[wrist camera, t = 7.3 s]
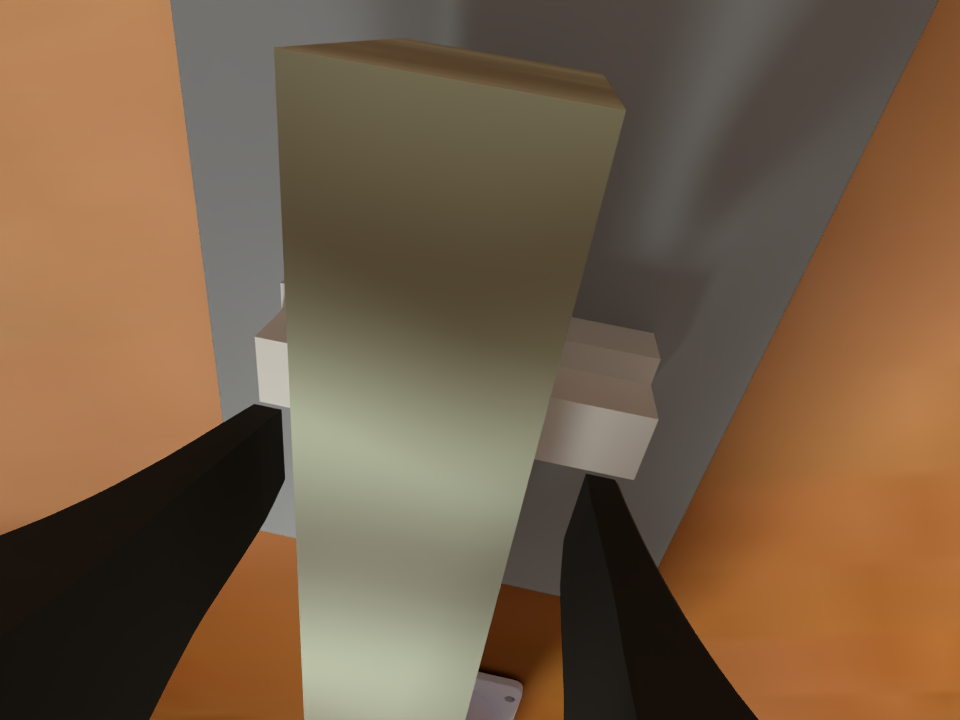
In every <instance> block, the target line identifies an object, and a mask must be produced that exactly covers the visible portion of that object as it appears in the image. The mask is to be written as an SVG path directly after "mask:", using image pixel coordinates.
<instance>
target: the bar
mask: <svg viewBox="0 0 960 720" xmlns="http://www.w3.org/2000/svg"><path fill="white" fill-rule="evenodd" d="M274 62H275V84H276V106H277V128H278V150H279V172H280V194H281V216H282V238H283V260H284V282H285V304H286V326H287V348H288V370H289V393H290V415H291V437H292V459H293V481H294V503H295V525H296V547H297V569H298V591H299V613H300V635H301V657H302V679H303V701H304V720H465V719H466V715H467V712H468V708H469V704H470V700H471V696H472V693H473V689H474V685H475V681H476V677H477V674H478V670H479V666H480V662H481V659H482V655H483V651H484V647H485V643H486V640H487V636H488V632H489V628H490V624H491V621H492V617H493V613H494V609H495V605H496V602H497V598H498V594H499V590H500V586H501V583H502V579H503V575H504V571H505V568H506V564H507V560H508V556H509V552H510V549H511V545H512V541H513V537H514V533H515V530H516V526H517V522H518V518H519V514H520V511H521V507H522V503H523V499H524V495H525V492H526V488H527V484H528V480H529V476H530V473H531V469H532V465H533V461H534V458H535V454H536V450H537V446H538V442H539V439H540V435H541V431H542V427H543V423H544V420H545V416H546V412H547V408H548V404H549V401H550V397H551V393H552V389H553V385H554V382H555V378H556V374H557V370H558V367H559V363H560V359H561V355H562V351H563V348H564V344H565V340H566V336H567V332H568V329H569V325H570V321H571V317H572V313H573V310H574V306H575V302H576V298H577V294H578V291H579V287H580V283H581V279H582V275H583V272H584V268H585V264H586V260H587V257H588V253H589V249H590V245H591V241H592V238H593V234H594V230H595V226H596V222H597V219H598V215H599V211H600V207H601V203H602V200H603V196H604V192H605V188H606V184H607V181H608V177H609V173H610V169H611V166H612V162H613V158H614V154H615V150H616V147H617V143H618V139H619V135H620V131H621V128H622V124H623V120H624V116H625V112H626V109H625V108H624V106H623V105H622V103H621V101H620V100H619V98H618V97H617V95H616V94H615V92H614V90H613V89H612V87H611V86H610V84H609V83H608V81H607V79H606V78H605V76H604V75H603V73H599V72H593V71H588V70H582V69H576V68H571V67H565V66H559V65H554V64H548V63H542V62H537V61H531V60H525V59H520V58H514V57H508V56H503V55H497V54H491V53H486V52H480V51H474V50H468V49H463V48H457V47H451V46H446V45H440V44H434V43H429V42H423V41H417V40H412V39H406V38H392V39H379V40H365V41H352V42H338V43H325V44H311V45H298V46H285V47H274Z"/></svg>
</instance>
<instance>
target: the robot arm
mask: <svg viewBox="0 0 960 720" xmlns="http://www.w3.org/2000/svg"><path fill="white" fill-rule="evenodd" d="M284 481H285V465H284V446H283V426H282V410H281V409H277V408H272V407H267V406H262V405H258V404H253V405H251V406H250V407H248V408H246V409H245V410H243V411H241V412H240V413H238V414H236V415H235V416H233V417H231V418H230V419H228V420H227V421H225V422H223V423H222V424H220V425H219V426H217V427H215V428H214V429H212V430H210V431H209V432H207V433H206V434H204V435H202V436H201V437H199V438H197V439H196V440H194V441H192V442H191V443H189V444H187V445H186V446H184V447H182V448H181V449H179V450H177V451H176V452H174V453H172V454H170V455H169V456H167V457H165V458H164V459H162V460H160V461H158V462H156V463H154V464H153V465H151V466H149V467H147V468H145V469H143V470H142V471H140V472H138V473H136V474H134V475H132V476H131V477H129V478H127V479H125V480H123V481H121V482H119V483H118V484H116V485H114V486H112V487H110V488H108V489H106V490H104V491H102V492H100V493H98V494H96V495H94V496H92V497H90V498H88V499H85V500H83V501H81V502H79V503H77V504H74V505H72V506H70V507H68V508H66V509H63V510H61V511H59V512H57V513H55V514H52V515H50V516H48V517H45V518H43V519H41V520H38V521H36V522H33V523H31V524H28V525H26V526H23V527H21V528H18V529H15V530H13V531H10V532H8V533H5V534H3V535H0V720H149V719H150V717H151V715H152V713H153V711H154V709H155V707H156V705H157V703H158V701H159V699H160V697H161V695H162V693H163V691H164V689H165V687H166V685H167V683H168V681H169V679H170V677H171V675H172V673H173V671H174V669H175V668H176V666H177V664H178V662H179V660H180V658H181V656H182V654H183V652H184V650H185V649H186V647H187V645H188V643H189V641H190V639H191V637H192V635H193V633H194V632H195V630H196V628H197V627H198V625H199V623H200V622H201V620H202V618H203V617H204V615H205V613H206V612H207V610H208V609H209V607H210V606H211V604H212V603H213V601H214V600H215V598H216V596H217V595H218V593H219V592H220V590H221V589H222V587H223V586H224V584H225V583H226V581H227V580H228V578H229V577H230V575H231V573H232V572H233V570H234V569H235V567H236V566H237V564H238V563H239V561H240V560H241V558H242V557H243V555H244V554H245V552H246V550H247V549H248V547H249V546H250V544H251V543H252V541H253V540H254V538H255V536H256V535H257V533H258V532H259V530H260V529H261V527H262V525H263V524H264V522H265V520H266V518H267V516H268V514H269V512H270V510H271V508H272V506H273V504H274V502H275V500H276V498H277V496H278V494H279V492H280V490H281V487H282V485H283V483H284ZM560 603H561V632H562V657H563V683H564V720H758V718H757V717H756V716H755V715H754V713H753V712H752V711H751V710H750V708H749V707H748V706H747V705H746V703H745V702H744V701H743V700H742V698H741V697H740V696H739V695H738V693H737V692H736V691H735V689H734V688H733V687H732V685H731V684H730V682H729V681H728V680H727V678H726V677H725V675H724V674H723V673H722V671H721V670H720V669H719V667H718V666H717V664H716V663H715V661H714V660H713V658H712V657H711V656H710V654H709V653H708V651H707V650H706V648H705V647H704V645H703V644H702V642H701V641H700V639H699V638H698V636H697V635H696V633H695V632H694V630H693V628H692V627H691V625H690V624H689V622H688V620H687V619H686V617H685V616H684V614H683V612H682V610H681V609H680V607H679V605H678V604H677V602H676V600H675V599H674V597H673V595H672V593H671V592H670V590H669V588H668V586H667V585H666V583H665V581H664V579H663V577H662V576H661V574H660V572H659V570H658V568H657V566H656V564H655V562H654V560H653V558H652V556H651V554H650V553H649V551H648V549H647V547H646V545H645V543H644V541H643V539H642V537H641V534H640V532H639V530H638V528H637V526H636V524H635V522H634V520H633V517H632V515H631V513H630V511H629V508H628V506H627V504H626V502H625V499H624V497H623V495H622V492H621V490H620V487H619V485H618V483H617V482H616V480H614V479H609V478H605V477H600V476H595V475H590V474H586V475H585V478H584V481H583V484H582V487H581V490H580V492H579V495H578V498H577V501H576V504H575V507H574V510H573V513H572V516H571V519H570V522H569V525H568V528H567V531H566V534H565V537H564V540H563V552H562V564H561V578H560ZM522 692H523V686H522V684H521V683H520V682H518V681H516V680H513V679H508V678H504V677H499V676H495V675H491V674H486V673H482V672H478V674H477V677H476V681H475V685H474V689H473V693H472V696H471V700H470V704H469V708H468V712H467V715H466V719H465V720H513V719H514V717H515V714H516V711H517V708H518V706H519V703H520V700H521V697H522Z"/></svg>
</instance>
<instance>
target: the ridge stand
mask: <svg viewBox="0 0 960 720" xmlns="http://www.w3.org/2000/svg"><path fill="white" fill-rule="evenodd" d="M170 1H171V9H172V17H173V25H174V33H175V41H176V49H177V57H178V65H179V73H180V82H181V90H182V98H183V106H184V114H185V122H186V130H187V138H188V146H189V154H190V162H191V170H192V178H193V186H194V194H195V202H196V210H197V218H198V226H199V234H200V242H201V250H202V258H203V266H204V274H205V282H206V290H207V298H208V306H209V314H210V322H211V330H212V338H213V346H214V354H215V362H216V370H217V378H218V386H219V394H220V402H221V410H222V418H223V422H225V421H227V420H228V419H230V418H231V417H233V416H235V415H236V414H238V413H240V412H241V411H243V410H245V409H246V408H248V407H250V406H251V405H253V404H258V405H262V406H267V407H272V408H277V409H281V410H282V426H283V446H284V465H285V481H284V483H283V485H282V487H281V490H280V492H279V494H278V496H277V498H276V500H275V502H274V504H273V506H272V508H271V510H270V512H269V514H268V516H267V518H266V520H265V522H264V524H263V525H262V527H261V529H260V530H261V531H265V532H270V533H274V534H279V535H283V536H288V537H293V538H296V525H295V503H294V481H293V459H292V437H291V415H290V393H289V370H288V348H287V326H286V304H285V282H284V260H283V238H282V216H281V194H280V172H279V150H278V128H277V106H276V84H275V62H274V47H285V46H298V45H311V44H325V43H338V42H352V41H365V40H379V39H392V38H406V39H412V40H417V41H423V42H429V43H434V44H440V45H446V46H451V47H457V48H463V49H468V50H474V51H480V52H486V53H491V54H497V55H503V56H508V57H514V58H520V59H525V60H531V61H537V62H542V63H548V64H554V65H559V66H565V67H571V68H576V69H582V70H588V71H593V72H599V73H603V75H604V76H605V78H606V79H607V81H608V83H609V84H610V86H611V87H612V89H613V90H614V92H615V94H616V95H617V97H618V98H619V100H620V101H621V103H622V105H623V106H624V108H625V109H626V112H625V116H624V120H623V124H622V128H621V131H620V135H619V139H618V143H617V147H616V150H615V154H614V158H613V162H612V166H611V169H610V173H609V177H608V181H607V184H606V188H605V192H604V196H603V200H602V203H601V207H600V211H599V215H598V219H597V222H596V226H595V230H594V234H593V238H592V241H591V245H590V249H589V253H588V257H587V260H586V264H585V268H584V272H583V275H582V279H581V283H580V287H579V291H578V294H577V298H576V302H575V306H574V310H573V313H572V317H571V321H570V325H569V329H568V332H567V336H566V340H565V344H564V348H563V351H562V355H561V359H560V363H559V367H558V370H557V374H556V378H555V382H554V385H553V389H552V393H551V397H550V401H549V404H548V408H547V412H546V416H545V420H544V423H543V427H542V431H541V435H540V439H539V442H538V446H537V450H536V454H535V458H534V461H533V465H532V469H531V473H530V476H529V480H528V484H527V488H526V492H525V495H524V499H523V503H522V507H521V511H520V514H519V518H518V522H517V526H516V530H515V533H514V537H513V541H512V545H511V549H510V552H509V556H508V560H507V564H506V568H505V571H504V575H503V579H502V583H501V584H506V585H511V586H515V587H520V588H524V589H529V590H533V591H538V592H542V593H547V594H551V595H556V596H560V578H561V564H562V552H563V540H564V537H565V534H566V531H567V528H568V525H569V522H570V519H571V516H572V513H573V510H574V507H575V504H576V501H577V498H578V495H579V492H580V490H581V487H582V484H583V481H584V478H585V475H586V474H590V475H595V476H600V477H605V478H609V479H614V480H616V482H617V483H618V485H619V487H620V490H621V492H622V495H623V497H624V499H625V502H626V504H627V506H628V508H629V511H630V513H631V515H632V517H633V520H634V522H635V524H636V526H637V528H638V530H639V532H640V534H641V537H642V539H643V541H644V543H645V545H646V547H647V549H648V551H649V553H650V554H651V556H652V558H653V560H654V562H655V564H656V566H657V568H658V566H659V564H660V562H661V560H662V558H663V556H664V554H665V552H666V550H667V548H668V546H669V544H670V542H671V540H672V538H673V536H674V534H675V532H676V530H677V528H678V526H679V524H680V522H681V520H682V518H683V516H684V514H685V512H686V510H687V508H688V506H689V504H690V502H691V500H692V498H693V495H694V493H695V491H696V489H697V487H698V485H699V483H700V481H701V479H702V477H703V475H704V473H705V471H706V469H707V467H708V465H709V463H710V461H711V459H712V457H713V455H714V453H715V451H716V449H717V447H718V445H719V443H720V441H721V439H722V437H723V435H724V433H725V431H726V429H727V427H728V425H729V423H730V421H731V419H732V417H733V415H734V413H735V411H736V409H737V407H738V405H739V403H740V401H741V399H742V396H743V394H744V392H745V390H746V388H747V386H748V384H749V382H750V380H751V378H752V376H753V374H754V372H755V370H756V368H757V366H758V364H759V362H760V360H761V358H762V356H763V354H764V352H765V350H766V348H767V346H768V344H769V342H770V340H771V338H772V336H773V334H774V332H775V330H776V328H777V326H778V324H779V322H780V320H781V318H782V316H783V314H784V312H785V310H786V308H787V306H788V304H789V302H790V300H791V297H792V295H793V293H794V291H795V289H796V287H797V285H798V283H799V281H800V279H801V277H802V275H803V273H804V271H805V269H806V267H807V265H808V263H809V261H810V259H811V257H812V255H813V253H814V251H815V249H816V247H817V245H818V243H819V241H820V239H821V237H822V235H823V233H824V231H825V229H826V227H827V225H828V223H829V221H830V219H831V217H832V215H833V213H834V211H835V209H836V207H837V205H838V203H839V201H840V198H841V196H842V194H843V192H844V190H845V188H846V186H847V184H848V182H849V180H850V178H851V176H852V174H853V172H854V170H855V168H856V166H857V164H858V162H859V160H860V158H861V156H862V154H863V152H864V150H865V148H866V146H867V144H868V142H869V140H870V138H871V136H872V134H873V132H874V130H875V128H876V126H877V124H878V122H879V120H880V118H881V116H882V114H883V112H884V110H885V108H886V106H887V104H888V102H889V99H890V97H891V95H892V93H893V91H894V89H895V87H896V85H897V83H898V81H899V79H900V77H901V75H902V73H903V71H904V69H905V67H906V65H907V63H908V61H909V59H910V57H911V55H912V53H913V51H914V49H915V47H916V45H917V43H918V41H919V39H920V37H921V35H922V33H923V31H924V29H925V27H926V25H927V23H928V21H929V19H930V17H931V15H932V13H933V11H934V9H935V7H936V5H937V3H938V1H937V0H170Z"/></svg>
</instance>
